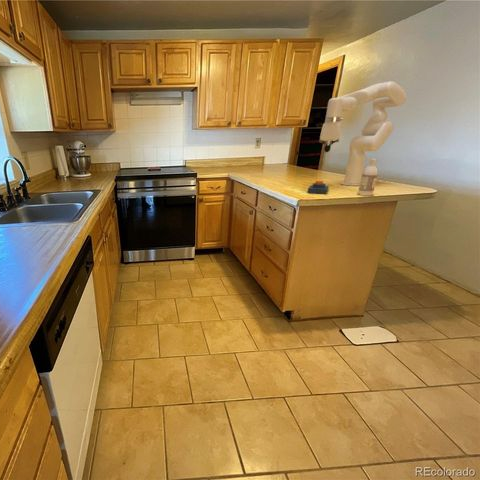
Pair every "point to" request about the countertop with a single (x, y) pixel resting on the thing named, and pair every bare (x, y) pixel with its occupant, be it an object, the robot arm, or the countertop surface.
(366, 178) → the bath foam
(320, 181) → the nozzle
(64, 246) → the countertop surface
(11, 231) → the countertop surface
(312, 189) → the dispenser
